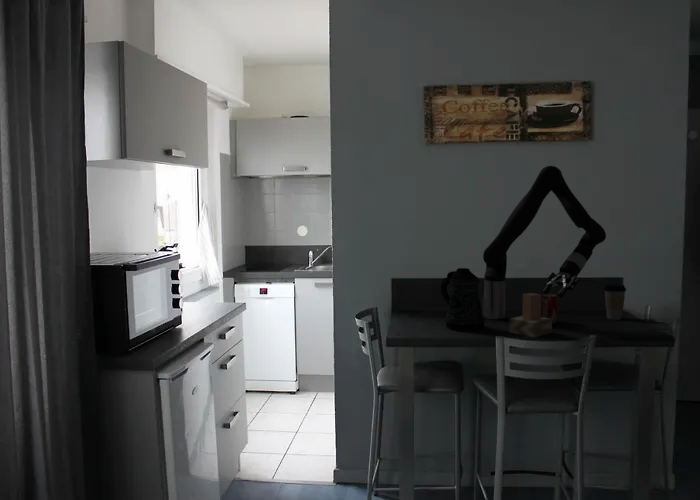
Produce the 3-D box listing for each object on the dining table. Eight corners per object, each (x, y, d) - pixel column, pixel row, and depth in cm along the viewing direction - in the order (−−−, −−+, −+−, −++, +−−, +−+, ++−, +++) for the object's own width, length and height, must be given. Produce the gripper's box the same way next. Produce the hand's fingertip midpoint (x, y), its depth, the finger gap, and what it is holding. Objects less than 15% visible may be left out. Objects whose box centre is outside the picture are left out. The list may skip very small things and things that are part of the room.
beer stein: (482, 332, 254) (483, 271, 252) (435, 330, 260) (435, 270, 258) (486, 324, 270) (486, 267, 268) (441, 322, 276) (441, 266, 274)
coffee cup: (615, 321, 274) (616, 287, 273) (598, 317, 282) (598, 284, 281) (630, 319, 278) (631, 285, 277) (612, 315, 286) (613, 283, 285)
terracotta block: (522, 318, 254) (522, 293, 253) (532, 317, 256) (532, 293, 255) (530, 320, 249) (530, 295, 249) (540, 319, 251) (540, 294, 251)
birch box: (509, 333, 254) (509, 318, 254) (526, 329, 262) (526, 314, 261) (534, 338, 245) (534, 322, 244) (551, 333, 253) (552, 318, 252)
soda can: (558, 323, 270) (559, 296, 269) (541, 323, 271) (542, 296, 270) (556, 320, 277) (557, 294, 276) (540, 320, 278) (540, 293, 277)
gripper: (556, 258, 266) (534, 286, 262) (581, 261, 253) (559, 291, 249) (565, 269, 268) (544, 298, 265) (590, 273, 256) (569, 303, 252)
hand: (551, 294), depth 257 cm, fingers open, 8 cm apart
